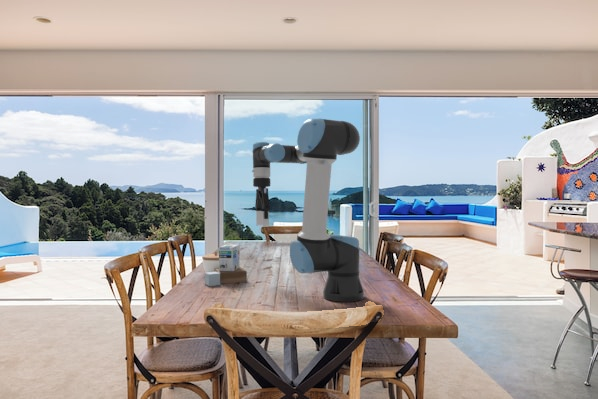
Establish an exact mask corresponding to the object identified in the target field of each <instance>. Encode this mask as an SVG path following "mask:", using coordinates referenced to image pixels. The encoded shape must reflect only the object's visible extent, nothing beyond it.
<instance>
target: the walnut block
mask: <svg viewBox="0 0 598 399" xmlns="http://www.w3.org/2000/svg"><path fill="white" fill-rule="evenodd" d="M214 272H218V273H220V284H233V283H243V282H244V283H246V282H247V281H248V280H247V277H248V275H247V274H248V273H247V272H248V271H247V270H246V269H244V268H242V266H240V268H238V269H236V270H235V271H219V268H214Z"/></svg>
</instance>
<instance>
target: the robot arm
mask: <svg viewBox="0 0 598 399" xmlns="http://www.w3.org/2000/svg"><path fill="white" fill-rule="evenodd" d="M297 133H298V134H297V140H296V143H297V145H290V144H289V145H288V144H280V143H275V142H274V143H270V142H267V141H258V142H254V143H253V144H252V168H253V169H252V170H251V173H253V175H252V177H253V180H252V184H253V187H254V188H256V190H255V191H256V195H255V205H254V210H255V213H256V214H255V218H256V219H255V223H256V226H262V228H264V227H265V228H269V227H270V210H271V206H270V197H269V188H268V187H271V178H270V177H271V163H272V164H273V163H276V164H279V163H282V164H300V165H302V164H303V165H304V164H306V170H305V185H304V198H303V211H302V212H303V213H302V223H301V224H302V225H301V230H300V231H299V232H298V233H297V237H296V240H294V241H292V242H291V243H290V246H289V258H290V261H291V264H292V266H293V267H294V269H295V270H296V271H297V272H299V273H300V274H313V273H323V272H327V278H326V281H325V284H324V288H323V292H322V293H323V295H322V297H323V298H324V299H326V300H328V301H331V302H338V303H339V302H341V303H343V302H344V303H350V302H359V301H361V300H363V299H364V298H365V291H364V288H363V285H362V282H361V279H360V241H359V238H357V237H355V236H349V235H348V236H347V235H341V234H340V235H339V234H328V232H327V228H328V227H327V226H328V225H327V224H328V215H329V214H328V213H329V212H328V211H329V203H330V202H329V200H330V186H331V177H332V165H333V163H335V162H336V161H337V156H344V155H347V154H351V153H353V152H354V151H355V150H356V149H357V148H358V147H359V145H360V139H361V137H360V133H359V130H358V129H357V127H356V126H355V125H354V124H353V123H351V122H348V121H344V120H333V119H326V118H309V119H307V120H305V121H304V122H303V123H302V124H301V126H300V129H299V130H298V132H297Z"/></svg>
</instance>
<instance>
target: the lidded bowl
mask: <svg viewBox="0 0 598 399" xmlns="http://www.w3.org/2000/svg"><path fill="white" fill-rule="evenodd" d="M202 267H203V269H204V271H205V273H206V272H214V268H219V253H218V251H214V253H211V254H210V253H209V254H204V255H202Z"/></svg>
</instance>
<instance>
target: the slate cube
mask: <svg viewBox="0 0 598 399" xmlns="http://www.w3.org/2000/svg"><path fill="white" fill-rule="evenodd" d="M204 285H206V286H208V287H215V286H221V283H220V273H218V272H206V271H205V272H204Z"/></svg>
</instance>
